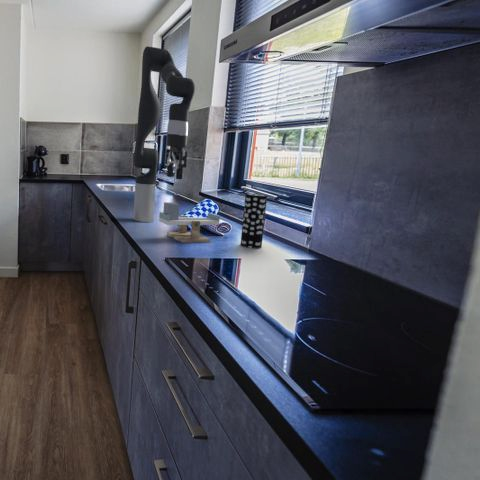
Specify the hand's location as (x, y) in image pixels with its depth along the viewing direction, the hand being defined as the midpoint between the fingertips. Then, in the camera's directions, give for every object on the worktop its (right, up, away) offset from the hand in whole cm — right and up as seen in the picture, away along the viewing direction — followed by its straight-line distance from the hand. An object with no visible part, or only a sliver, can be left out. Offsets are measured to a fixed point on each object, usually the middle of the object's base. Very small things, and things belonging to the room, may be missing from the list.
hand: (174, 178), depth 162 cm
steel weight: (-2, -15, +3) cm, 16 cm away
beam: (+5, -16, +7) cm, 18 cm away
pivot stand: (+4, -23, +9) cm, 25 cm away
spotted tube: (+29, -26, +7) cm, 39 cm away
